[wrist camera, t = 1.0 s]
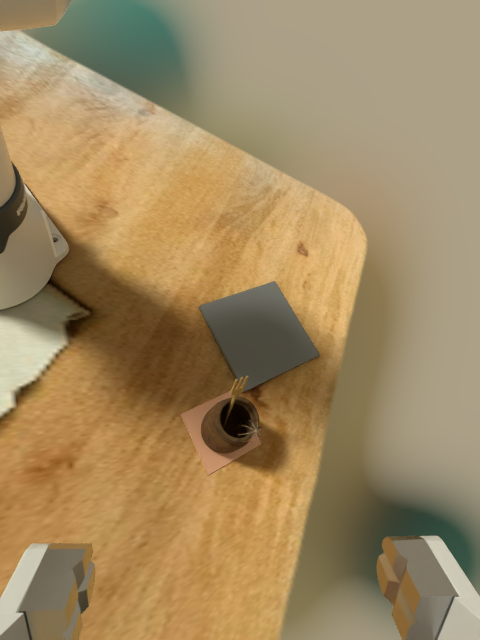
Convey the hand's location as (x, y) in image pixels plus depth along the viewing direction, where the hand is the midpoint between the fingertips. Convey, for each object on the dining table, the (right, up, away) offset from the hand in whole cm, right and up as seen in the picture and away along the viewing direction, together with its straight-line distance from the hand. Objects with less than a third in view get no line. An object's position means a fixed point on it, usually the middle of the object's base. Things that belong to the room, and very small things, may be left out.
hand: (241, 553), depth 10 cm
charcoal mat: (+3, +5, +44) cm, 44 cm away
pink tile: (-2, -8, +36) cm, 36 cm away
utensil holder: (-2, -8, +36) cm, 36 cm away
